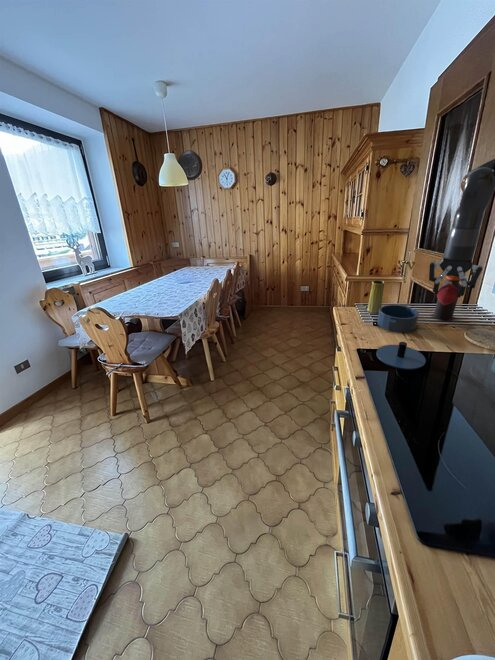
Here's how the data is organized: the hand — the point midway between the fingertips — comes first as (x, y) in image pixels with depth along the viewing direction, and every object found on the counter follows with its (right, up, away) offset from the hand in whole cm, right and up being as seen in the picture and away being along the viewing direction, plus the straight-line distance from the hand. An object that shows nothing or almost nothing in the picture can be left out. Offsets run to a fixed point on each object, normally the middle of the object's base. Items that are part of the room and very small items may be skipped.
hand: (447, 295), depth 93 cm
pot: (-3, -10, +27) cm, 29 cm away
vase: (-6, -3, +41) cm, 42 cm away
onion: (0, -3, +2) cm, 4 cm away
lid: (-13, -21, +5) cm, 25 cm away
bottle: (+19, -7, +30) cm, 37 cm away
